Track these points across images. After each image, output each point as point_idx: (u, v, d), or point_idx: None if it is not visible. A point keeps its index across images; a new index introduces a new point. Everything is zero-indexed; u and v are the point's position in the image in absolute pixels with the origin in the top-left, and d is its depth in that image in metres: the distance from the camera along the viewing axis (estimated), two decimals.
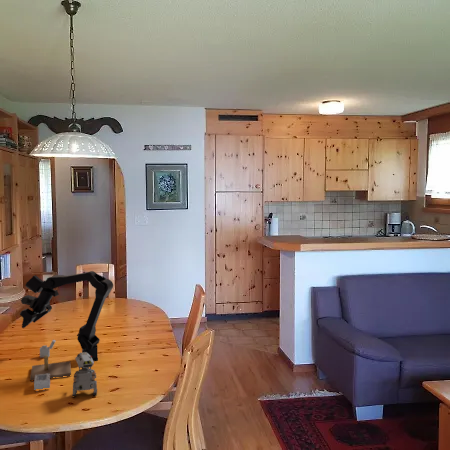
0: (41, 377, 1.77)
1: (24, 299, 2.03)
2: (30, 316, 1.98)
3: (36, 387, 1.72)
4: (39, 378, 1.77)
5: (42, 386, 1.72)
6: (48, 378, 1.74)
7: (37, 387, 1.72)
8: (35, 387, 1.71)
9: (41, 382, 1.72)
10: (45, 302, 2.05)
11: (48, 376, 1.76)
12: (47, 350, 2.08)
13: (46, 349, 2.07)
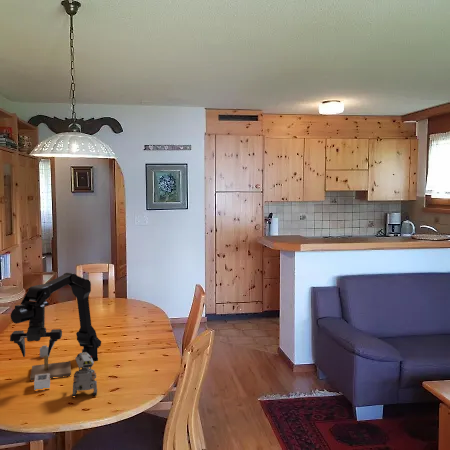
0: (41, 377, 1.77)
1: (45, 330, 1.70)
2: (61, 330, 1.79)
3: (36, 387, 1.72)
4: (39, 378, 1.77)
5: (42, 386, 1.72)
6: (48, 378, 1.74)
7: (37, 387, 1.72)
8: (35, 387, 1.71)
9: (41, 382, 1.72)
10: None
11: (48, 376, 1.76)
12: (47, 350, 2.08)
13: (46, 349, 2.07)
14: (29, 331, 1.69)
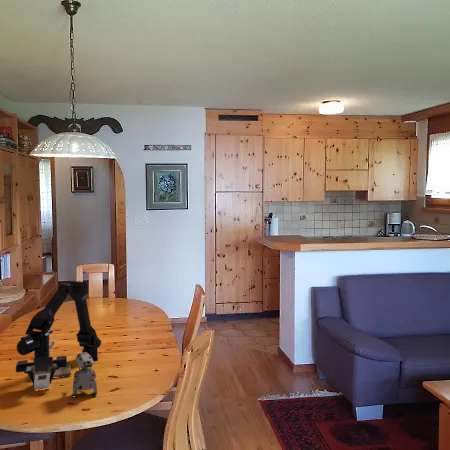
0: (41, 377, 1.77)
1: (52, 359, 1.70)
2: (66, 357, 1.80)
3: (36, 387, 1.71)
4: (39, 378, 1.77)
5: (42, 386, 1.72)
6: (48, 378, 1.74)
7: (37, 387, 1.72)
8: (35, 387, 1.71)
9: (41, 382, 1.72)
10: None
11: (48, 376, 1.76)
12: None
13: None
14: (36, 361, 1.68)
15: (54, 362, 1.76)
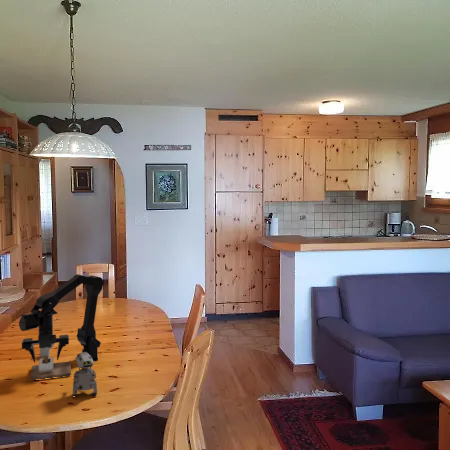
0: None
1: None
2: None
3: (40, 369, 1.85)
4: (43, 362, 1.91)
5: (46, 369, 1.86)
6: (52, 361, 1.88)
7: (41, 369, 1.85)
8: (40, 369, 1.85)
9: (45, 365, 1.85)
10: None
11: (52, 360, 1.90)
12: (47, 350, 2.08)
13: (46, 349, 2.07)
14: (41, 339, 1.81)
15: None
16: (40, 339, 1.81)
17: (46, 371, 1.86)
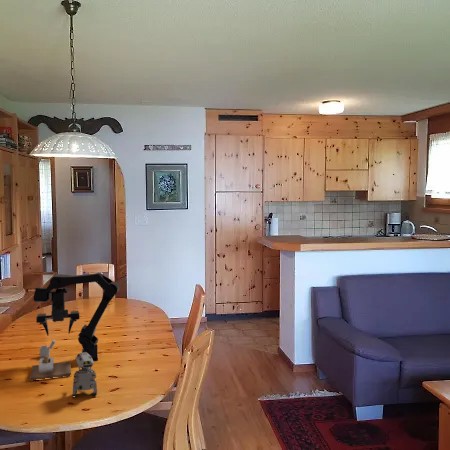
0: None
1: None
2: (78, 311, 2.08)
3: (40, 369, 1.85)
4: (43, 362, 1.91)
5: (46, 369, 1.86)
6: (52, 361, 1.88)
7: (41, 369, 1.85)
8: (40, 369, 1.85)
9: (45, 365, 1.85)
10: None
11: (52, 360, 1.90)
12: (47, 350, 2.08)
13: (46, 349, 2.07)
14: (54, 313, 1.97)
15: None
16: (53, 313, 1.96)
17: (46, 371, 1.86)
